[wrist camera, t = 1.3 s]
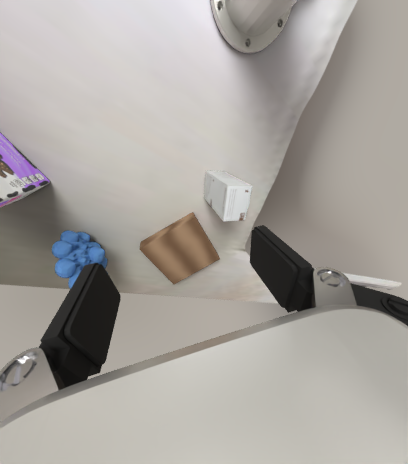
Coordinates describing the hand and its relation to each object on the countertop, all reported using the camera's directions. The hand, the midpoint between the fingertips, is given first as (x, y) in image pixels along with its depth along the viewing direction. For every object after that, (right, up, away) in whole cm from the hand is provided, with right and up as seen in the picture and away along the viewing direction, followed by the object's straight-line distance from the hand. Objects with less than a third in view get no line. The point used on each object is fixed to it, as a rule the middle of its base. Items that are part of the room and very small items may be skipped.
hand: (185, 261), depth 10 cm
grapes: (-22, 0, +25) cm, 33 cm away
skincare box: (+3, +12, +25) cm, 28 cm away
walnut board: (-5, -2, +31) cm, 31 cm away
